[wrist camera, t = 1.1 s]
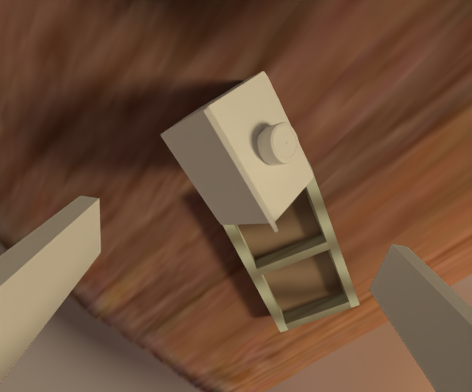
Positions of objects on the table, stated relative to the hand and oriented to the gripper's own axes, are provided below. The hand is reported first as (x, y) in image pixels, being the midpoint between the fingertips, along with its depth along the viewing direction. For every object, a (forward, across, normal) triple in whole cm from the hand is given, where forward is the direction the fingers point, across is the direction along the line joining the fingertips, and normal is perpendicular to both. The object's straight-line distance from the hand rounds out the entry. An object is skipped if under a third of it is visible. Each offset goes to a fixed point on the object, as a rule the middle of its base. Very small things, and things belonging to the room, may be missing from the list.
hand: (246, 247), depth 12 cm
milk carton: (+21, -1, +2) cm, 21 cm away
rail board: (+21, +10, -13) cm, 26 cm away
